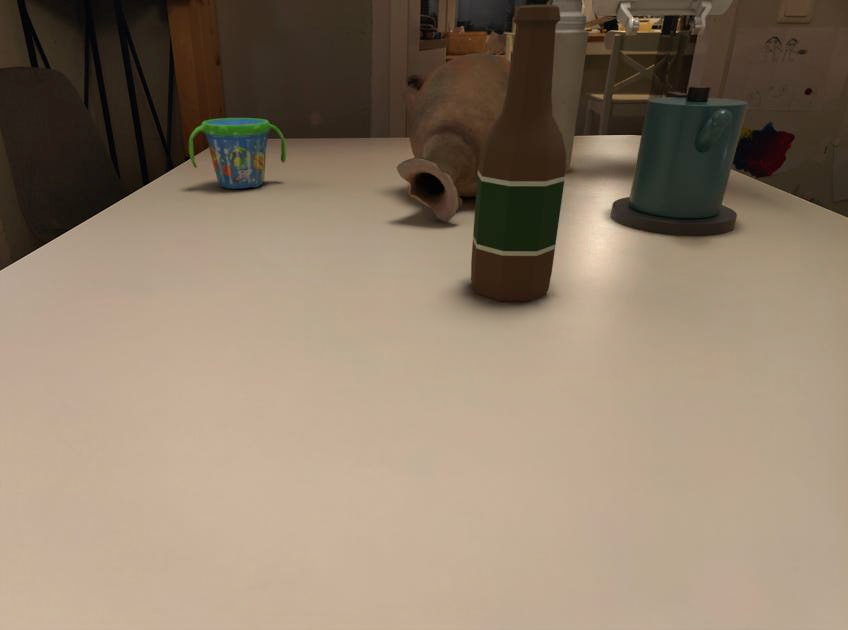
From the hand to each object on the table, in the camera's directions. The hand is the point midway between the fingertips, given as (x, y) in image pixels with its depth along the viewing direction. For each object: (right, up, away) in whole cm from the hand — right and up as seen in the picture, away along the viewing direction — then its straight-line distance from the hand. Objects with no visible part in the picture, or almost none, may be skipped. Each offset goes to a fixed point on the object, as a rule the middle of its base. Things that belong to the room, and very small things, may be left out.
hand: (665, 31), depth 92 cm
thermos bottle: (-12, -14, +21) cm, 28 cm away
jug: (-31, -25, 0) cm, 40 cm away
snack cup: (-66, -20, +11) cm, 70 cm away
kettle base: (-4, -30, -10) cm, 32 cm away
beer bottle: (-31, -42, -32) cm, 61 cm away
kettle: (-4, -29, -11) cm, 31 cm away
